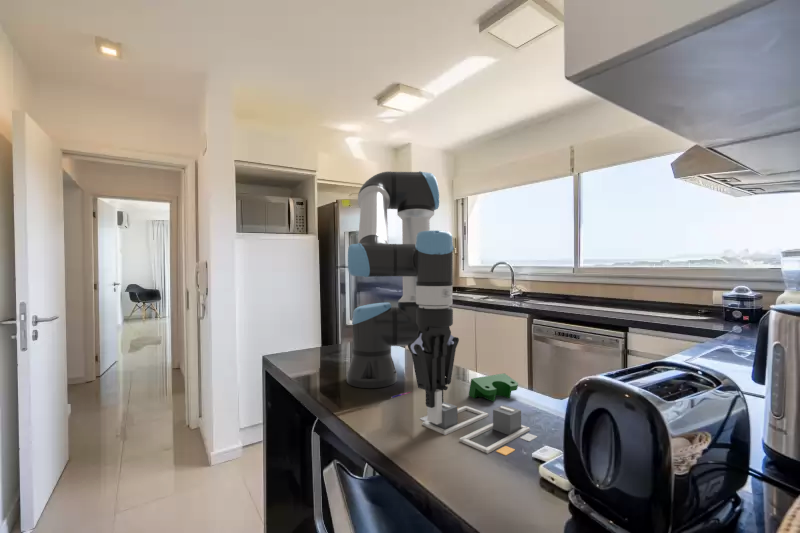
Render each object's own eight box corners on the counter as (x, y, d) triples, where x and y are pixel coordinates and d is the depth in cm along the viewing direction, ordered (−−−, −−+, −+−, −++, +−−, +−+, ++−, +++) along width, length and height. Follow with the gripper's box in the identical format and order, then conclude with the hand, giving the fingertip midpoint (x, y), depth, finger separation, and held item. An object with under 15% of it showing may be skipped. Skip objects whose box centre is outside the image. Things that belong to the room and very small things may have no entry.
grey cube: (493, 429, 77) (492, 408, 77) (504, 423, 79) (504, 403, 79) (510, 435, 74) (510, 413, 74) (521, 430, 76) (521, 408, 76)
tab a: (430, 424, 79) (430, 404, 79) (443, 419, 81) (443, 400, 81) (444, 431, 76) (444, 409, 76) (457, 425, 78) (457, 405, 78)
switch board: (407, 425, 81) (407, 418, 81) (460, 405, 93) (460, 398, 93) (503, 469, 63) (503, 460, 63) (554, 437, 75) (554, 429, 75)
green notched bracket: (486, 422, 94) (480, 394, 90) (472, 408, 99) (465, 382, 95) (522, 398, 98) (518, 370, 94) (507, 386, 103) (502, 360, 99)
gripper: (424, 310, 70) (424, 437, 70) (469, 305, 78) (469, 418, 78) (398, 307, 76) (398, 424, 75) (442, 303, 84) (442, 408, 84)
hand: (434, 421), depth 77 cm, fingers closed
